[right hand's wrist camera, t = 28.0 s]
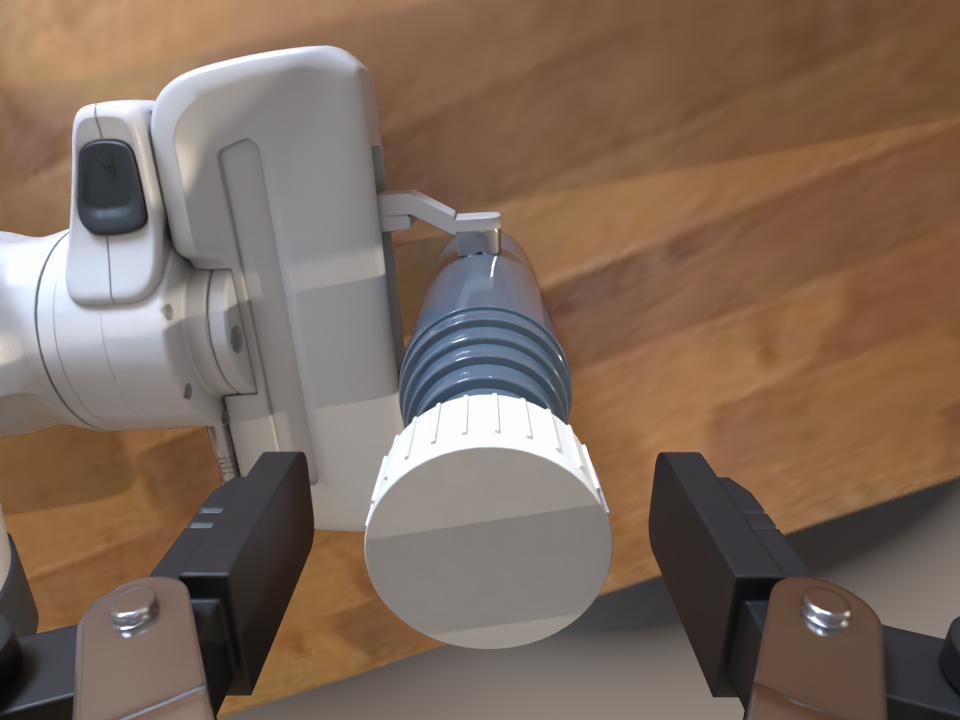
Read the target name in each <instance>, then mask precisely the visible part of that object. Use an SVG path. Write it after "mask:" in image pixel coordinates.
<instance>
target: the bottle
mask: <svg viewBox="0 0 960 720" xmlns="http://www.w3.org/2000/svg"><path fill="white" fill-rule="evenodd" d="M501 250H502V252H501V253H498V254H483V253H482V252H480V251H479V252H478V253H477V254H476V255H471V256H458V251H457V240H456V237H455V238H454V239H452V240H451V241H450V242H449V243H448V244H447V245H446V247H445V248H444V249H443V251H442V252H441V254H440V256H439V258H438V261H437V264H436V267H435V270H434V273H433V275H432V278H431V281H430V284H429V287H428V290H427V293H426V296H425V299H424V302H423V304H422V307H421V310H420V313H419V316H418V319H417V322H416V325H415V328H414V331H413V333H412V336H411V339H410V342H409V345H408V348H407V351H406V354H405V357H404V360H403V363H402V367H401V371H400V378H399V406H400V412H401V416H402V419H403V422H404V426H405V429H406V428H407V427H408V426H409V425H410V424H411V423H412V421H413V418H414V417H415V416H417V417H419V416H421V415H422V414H423V413H425V412H427V411H428V410H430V409H432V408H434V407H436V405H437V404H438V403H441V404H443V403H445V402H448V401H451V400H454V399H458V398H461V397H464V395H468V396H474V395H492V394H493V393H497V395H501V396H508V397H513V398H517V399H521V398H525V401H527V402H530V403H533V404H535V405H537V406H539V407H541V408H543V409H545V410H546V409H547V408H548V409H549V410H551V413H552V414H553V415H555V416H556V417H557V418H559V419H560V420H561V421H562V422H563V423H564V424H565V425H567V422H568V419H569V415H570V411H571V404H572V387H571V374H570V369H569V364H568V361H567V358H566V356H565V353H564V350H563V348H562V345H561V343H560V340H559V338H558V335H557V332H556V330H555V327H554V325H553V322H552V320H551V317H550V315H549V312H548V309H547V307H546V304H545V302H544V299H543V297H542V294H541V291H540V289H539V286H538V284H537V281H536V279H535V276H534V273H533V271H532V268H531V266H530V263H529V261H528V258H527V256H526V254H525V252H524V251H523V249H522V248H521V246H520V245H519V244H518V243H517V242H516V241H515V240H514V239H512V238H511V237H510V236H508V235H506V234H504V233H502V232H501Z"/></svg>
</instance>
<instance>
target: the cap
mask: <svg viewBox="0 0 960 720" xmlns="http://www.w3.org/2000/svg"><path fill="white" fill-rule="evenodd" d="M370 503H371V507H370V511H369V514H368V518H367V521H366V524H365V529H366V533H365V542H364V553H365V562H366V566H367V570H368V573H369V577H370V579H371V581H372V584H373V586H374V588H375V590H376V591H377V593H378V595H379V596H380V598H381V599H382V601H383V602H384V603H385V604H386V606H387V607H388V608H389V609H390V610H391V611H392V612H393V613H394V614H395V615H396V616H397V617H398V618H399V619H400V620H402V621H403V622H404V623H406V624H407V625H409V626H410V627H411V628H413V629H415V630H416V631H418V632H420V633H422V634H424V635H426V636H428V637H430V638H433V639H435V640H438V641H440V642H444V643H447V644H451V645H455V646H460V647H465V648H474V649H502V648H510V647H516V646H521V645H525V644H529V643H532V642H535V641H538V640H541V639H543V638H546V637H548V636H550V635H552V634H554V633H556V632H558V631H560V630H561V629H563V628H565V627H566V626H568V625H569V624H570V623H572V622H573V621H574V620H575V619H577V618H578V617H579V616H580V615H581V614H582V613H583V612H584V611H585V610H586V609H587V608H588V607H589V606H590V605H591V604H592V602H593V601H594V600H595V598H596V597H597V596H598V594H599V592H600V590H601V589H602V587H603V585H604V583H605V580H606V578H607V575H608V573H609V569H610V565H611V560H612V551H613V541H612V531H611V527H610V523H609V520H608V516H610V513H609V510H608V507H607V504H606V501H605V498H604V495H603V492H602V489H601V487H600V484H599V481H598V478H597V475H596V472H595V469H594V467H593V465H592V463H591V460H590V457H589V454H588V451H587V448H586V446H585V444H584V445H581V443H580V441H579V440H578V438H577V437H576V436H575V434H574V433H573V430H572V427H571V426H570V425H565V424H564V423H563V422H562V421H561V420H560V419H559V418H557V417H556V416H555V415H553V414H552V413H551V410H549V409H548V408H547V409H546V410H545V409H543V408H541V407H539V406H537V405H535V404H533V403H530V402H527V401H525V398H521V399H517V398H513V397H508V396H501V395H497V393H493V394H492V395H474V396H468V395H464V397H461V398H458V399H454V400H451V401H448V402H445V403H443V404H441V403H438V404H437V405H436V407H434V408H432V409H430V410H428V411H427V412H425V413H423V414H422V415H421V416H419V417H417V416H415V417H414V418H413V421H412V423H411V424H410V425H409V426H408V427H407V428H406V429H405V430H403V432H402V433H401V434H400V436H399V435H398V434H397V435H396V437H395V439H394V443H393V446H392V448H391V450H390V452H389V454H388V457H387V456H384V459H383V462H382V465H381V468H380V472H379V475H378V478H377V482H376V485H375V488H374V492H373V495H372V498H371V502H370Z"/></svg>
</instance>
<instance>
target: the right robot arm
mask: <svg viewBox="0 0 960 720" xmlns="http://www.w3.org/2000/svg"><path fill="white" fill-rule="evenodd" d="M199 510H200V511H199V513H196V515H195V516H194V517H193V519H192V520H191V521H190V523H189V524H188V528H185V529H184V531H183V532H182V533H181V535H180V536H179V537H178V539H177V540H176V541H175V543H174V544H173V545H172V547H171V548H170V549H169V551H168V552H167V553H166V555H165V556H164V557H163V559H162V560H161V561H160V563H159V564H158V565H157V567H156V568H155V569H154V571H153V572H152V573H151V575H150V576H149V577H148V578H143V579H139V580H135V581H132V582H129V583H127V584H124V585H122V586H120V587H117V588H115V589H113V590H112V591H110V592H108V593H106V594H105V595H104V596H102V597H101V598H99V599H98V600H97V601H96V602H95V603H93V604H92V605H91V606H90V607H89V608H88V609H87V611H86V612H85V613H84V615H83V616H82V617H81V619H80V622H79V624H77V625H73V626H69V627H64V628H60V629H56V630H51V631H47V632H43V633H38V634H34V635H30V636H25V637H21V638H17V636H16V633H15V630H14V628H13V625H12V622H11V621H10V619H9V618H8V617H6V616H5V615H3V614H0V720H217V714H218V711H219V709H220V707H221V705H222V703H223V700H224V698H225V696H226V695H251V694H252V692H253V690H254V687H255V685H256V682H257V680H258V677H259V675H260V672H261V670H262V668H263V665H264V663H265V660H266V658H267V655H268V653H269V650H270V648H271V646H272V643H273V641H274V638H275V636H276V633H277V631H278V628H279V626H280V624H281V621H282V619H283V616H284V614H285V611H286V609H287V607H288V604H289V602H290V599H291V597H292V594H293V592H294V589H295V587H296V585H297V582H298V580H299V577H300V575H301V572H302V570H303V567H304V565H305V563H306V560H307V558H308V555H309V553H310V550H311V547H312V542H313V536H314V513H313V505H312V496H311V488H310V480H309V471H308V463H307V458H306V455H305V453H304V452H263V453H262V454H261V456H260V457H259V458H258V460H257V461H256V463H255V464H254V466H253V467H252V469H251V470H250V472H249V473H248V474H247V476H246V477H234V478H232V479H231V480H229V481H228V482H226V483H225V484H223V485H222V486H221V487H219V488H218V489H216V490H215V491H213V492H212V494H211V495H210V496H209V497H208V499H207V500H206V501H205V503H204V504H203V505H202V507H201V508H200V509H199ZM649 538H650V544H651V548H652V551H653V554H654V556H655V559H656V561H657V563H658V566H659V568H660V571H661V573H662V575H663V578H664V580H665V583H666V585H667V587H668V590H669V592H670V595H671V597H672V599H673V602H674V604H675V607H676V609H677V611H678V614H679V616H680V619H681V621H682V624H683V626H684V628H685V631H686V633H687V636H688V638H689V640H690V643H691V645H692V648H693V650H694V652H695V655H696V657H697V660H698V662H699V664H700V667H701V669H702V672H703V674H704V676H705V679H706V681H707V684H708V686H709V688H710V691H711V693H712V696H713V697H739V699H740V701H741V703H742V705H743V707H744V710H745V712H744V717H743V720H960V617H957V618H956V619H954V620H953V622H952V623H951V625H950V628H949V631H948V633H947V636H946V639H941V638H936V637H932V636H928V635H924V634H919V633H915V632H910V631H906V630H902V629H897V628H893V627H890V626H886V625H882V624H881V622H880V619H879V617H878V616H877V615H876V613H875V612H874V611H873V609H872V608H871V607H870V606H869V605H868V604H867V603H865V602H864V601H863V600H862V599H861V598H859V597H858V596H856V595H855V594H854V593H852V592H850V591H848V590H847V589H845V588H843V587H840V586H838V585H836V584H833V583H831V582H828V581H825V580H821V579H817V578H815V577H814V575H813V574H812V573H811V571H810V570H809V569H808V567H807V566H806V565H805V563H804V562H803V561H802V559H801V558H800V557H799V556H798V554H797V553H796V552H795V550H794V549H793V548H792V546H791V545H790V544H789V542H788V541H787V540H786V538H785V537H784V536H783V534H782V533H781V532H780V530H779V529H776V525H775V524H774V523H773V521H772V520H771V519H770V517H769V516H768V515H767V514H765V513H764V509H763V508H762V507H761V505H760V504H759V503H758V502H757V500H756V499H755V498H754V496H753V495H752V494H751V493H750V492H749V491H748V490H746V489H745V488H743V487H742V486H740V485H739V484H737V483H736V482H734V481H733V480H731V479H730V478H718V477H717V476H716V474H715V473H714V472H713V470H712V469H711V467H710V466H709V464H708V463H707V462H706V460H705V459H704V457H703V456H702V455H701V454H700V453H698V452H661V453H659V455H658V456H657V459H656V464H655V472H654V481H653V489H652V497H651V505H650V514H649Z"/></svg>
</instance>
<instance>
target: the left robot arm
mask: <svg viewBox="0 0 960 720" xmlns="http://www.w3.org/2000/svg"><path fill="white" fill-rule="evenodd" d="M416 218H419V219H421V220H423V221H425V222H427V223H429V224H431V225H433V226H435V227H437V228H439V229H441V230H443V231H446V232H448V233H450V234H452V235H454V236H455V235H456V240H457V251H458V256H471V255H476V254H477V253H478V252H479V251H480V252H482V253H483V254H498V253H501V252H502V250H501V222H500V213H499V212H481V213H464V214H456V211H455V210H453V209H451V208H450V207H448V206H446V205H444V204H442V203H440V202H438V201H436V200H434V199H432V198H430V197H428V196H426V195H424V194H422V193H420V192H418V191H417V190H415V189H406V190H389V191H387V188H386V179H385V170H384V161H383V151H382V142H381V133H380V124H379V115H378V106H377V97H376V88H375V80H374V77H373V75H372V73H371V72H370V71H369V70H368V69H367V68H366V67H365V66H364V65H363V64H362V63H361V62H360V61H359V60H358V59H356V58H355V57H354V56H353V55H351V54H350V53H348V52H347V51H345V50H343V49H341V48H338V47H334V46H308V47H298V48H290V49H283V50H276V51H270V52H264V53H258V54H253V55H248V56H243V57H238V58H234V59H230V60H226V61H222V62H218V63H214V64H210V65H207V66H203V67H200V68H197V69H194V70H191V71H189V72H187V73H185V74H182V75H181V76H179V77H177V78H176V79H174V80H173V81H172V82H170V83H169V84H168V85H167V86H166V87H165V88H164V89H163V90H162V92H161V93H160V95H159V96H158V98H157V100H156V101H150V100H119V101H109V102H102V103H97V104H92V105H88V106H85V107H83V108H81V109H80V110H79V111H78V113H77V114H76V117H75V120H74V124H73V135H72V193H71V213H70V227H69V229H67V230H64V231H61V232H58V233H56V234H53V235H49V236H46V237H29V236H25V235H21V234H16V233H11V232H5V231H0V437H13V436H21V435H27V434H31V433H35V432H38V431H41V430H44V429H47V428H50V427H52V426H57V425H71V426H75V427H79V428H83V429H88V430H92V431H106V432H114V431H133V430H152V429H171V428H189V427H206V428H207V432H208V436H209V440H210V444H211V448H212V451H213V454H214V456H215V459H216V461H217V464H218V466H219V469H220V474H221V479H220V481H221V486H222V485H223V484H225V483H226V482H228V481H229V480H231V479H232V478H234V477H246V476H247V474H248V473H249V472H250V470H251V469H252V467H253V466H254V464H255V463H256V461H257V460H258V458H259V457H260V456H261V454H262V453H263V452H304V453H305V455H306V458H307V463H308V471H309V480H310V488H311V496H312V505H313V513H314V529H318V530H331V531H347V532H366V529H365V524H366V521H367V518H368V514H369V511H370V507H371V503H370V502H371V498H372V495H373V492H374V488H375V485H376V482H377V478H378V475H379V472H380V468H381V465H382V462H383V459H384V456H387V457H388V454H389V452H390V450H391V448H392V446H393V443H394V439H395V437H396V435H397V434H398V435H399V436H400V434H401V433H402V432H403V430H405V426H404V422H403V419H402V416H401V412H400V406H399V378H400V371H401V367H402V363H403V360H404V357H405V350H404V341H403V332H402V323H401V314H400V305H399V296H398V287H397V278H396V269H395V260H394V251H393V242H392V233H391V231H404V230H409V229H410V227H411V226H412V225H413V223H414V222H415V221H416ZM0 614H3V615H5V616H6V617H8V618H9V619H10V621H11V622H12V625H13V628H14V630H15V633H16V636H17V638H21V637H25V636H30V635H34V634H36V632H37V627H38V619H39V616H38V610H37V607H36V605H35V602H34V599H33V596H32V593H31V590H30V587H29V584H28V581H27V578H26V575H25V572H24V570H23V567H22V564H21V561H20V558H19V555H18V552H17V549H16V546H15V544H14V541H13V539H12V537H11V535H10V534H9V533H8V532H7V529H6V525H5V520H4V516H3V511H2V507H1V502H0Z"/></svg>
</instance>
